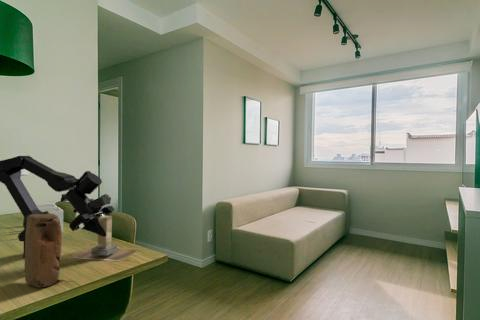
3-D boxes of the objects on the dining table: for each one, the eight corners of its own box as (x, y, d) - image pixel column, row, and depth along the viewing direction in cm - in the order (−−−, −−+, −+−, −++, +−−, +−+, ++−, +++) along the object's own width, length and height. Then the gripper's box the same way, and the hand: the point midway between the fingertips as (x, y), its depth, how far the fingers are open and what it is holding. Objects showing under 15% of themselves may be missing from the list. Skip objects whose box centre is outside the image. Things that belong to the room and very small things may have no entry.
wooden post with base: (91, 254, 97) (92, 217, 97) (101, 248, 103) (102, 214, 103) (107, 255, 97) (108, 218, 97) (116, 250, 103) (117, 215, 103)
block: (22, 280, 82) (23, 214, 82) (51, 272, 88) (52, 210, 88) (33, 292, 75) (34, 220, 75) (64, 283, 81) (65, 215, 81)
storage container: (63, 233, 132) (63, 210, 132) (34, 237, 125) (35, 213, 125) (53, 223, 150) (53, 203, 150) (27, 226, 143) (28, 205, 143)
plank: (67, 262, 97) (67, 257, 97) (89, 250, 109) (89, 246, 109) (121, 265, 95) (121, 261, 95) (137, 253, 107) (137, 249, 107)
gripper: (78, 191, 91) (108, 226, 90) (110, 185, 110) (136, 214, 109) (55, 213, 92) (85, 248, 91) (91, 204, 110) (116, 233, 109)
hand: (108, 234), depth 100 cm, fingers closed on wooden post with base, 3 cm apart
